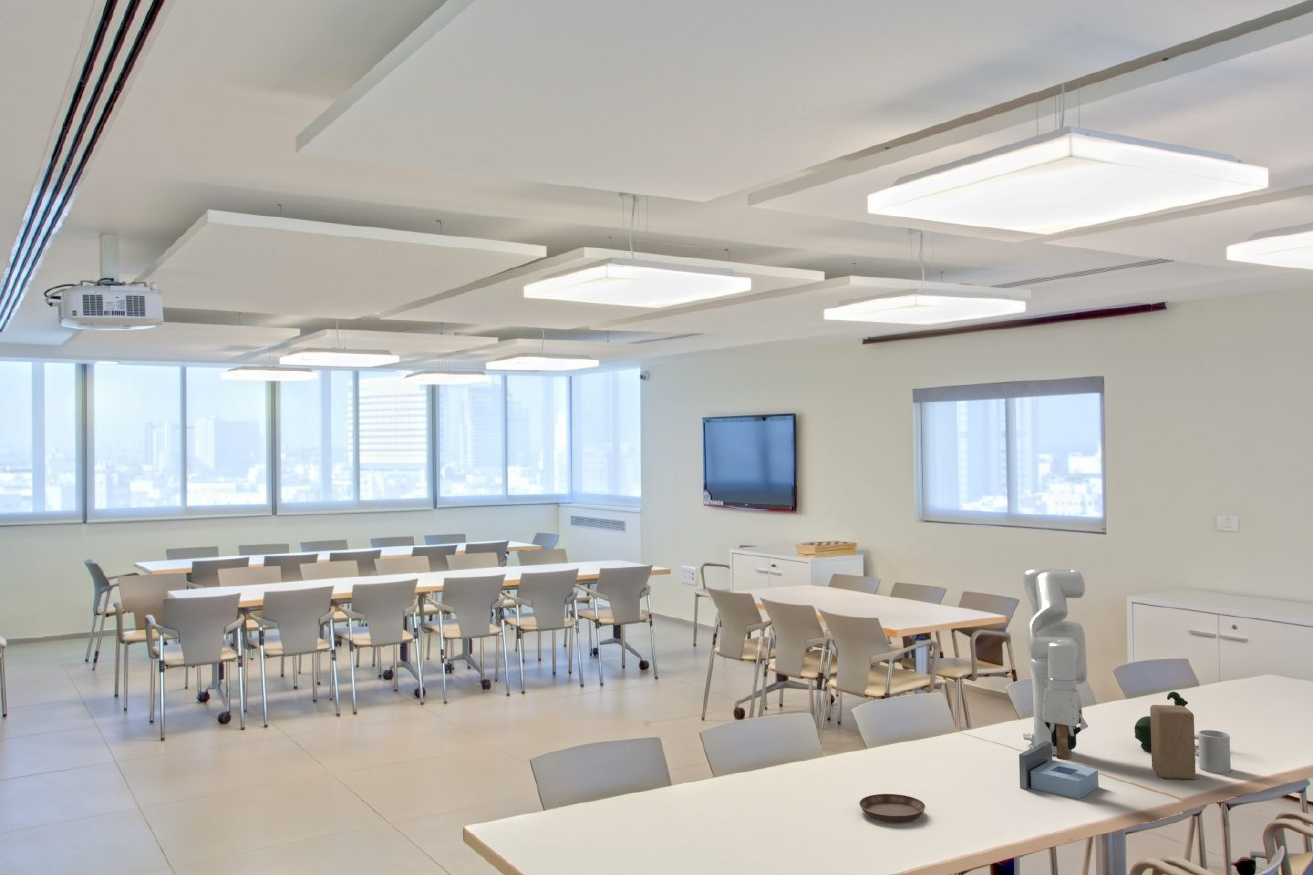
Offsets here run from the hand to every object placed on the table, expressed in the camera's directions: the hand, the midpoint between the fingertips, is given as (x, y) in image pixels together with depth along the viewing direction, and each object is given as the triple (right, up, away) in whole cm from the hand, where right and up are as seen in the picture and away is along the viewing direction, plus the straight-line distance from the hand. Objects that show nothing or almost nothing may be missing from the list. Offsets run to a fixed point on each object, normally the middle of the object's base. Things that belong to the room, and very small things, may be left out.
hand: (1063, 746), depth 291 cm
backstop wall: (-6, -12, +6) cm, 15 cm away
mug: (+52, -12, +16) cm, 56 cm away
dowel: (0, -3, 0) cm, 3 cm away
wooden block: (+38, -12, +11) cm, 41 cm away
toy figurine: (+48, -12, +37) cm, 62 cm away
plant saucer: (-55, -13, -19) cm, 59 cm away
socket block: (0, -12, 0) cm, 12 cm away
